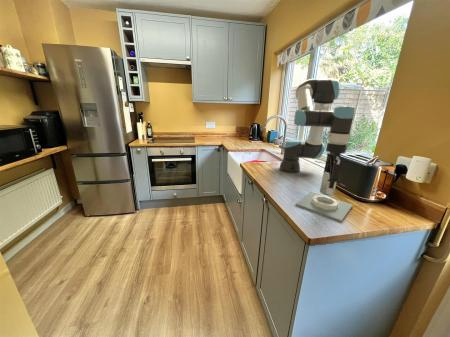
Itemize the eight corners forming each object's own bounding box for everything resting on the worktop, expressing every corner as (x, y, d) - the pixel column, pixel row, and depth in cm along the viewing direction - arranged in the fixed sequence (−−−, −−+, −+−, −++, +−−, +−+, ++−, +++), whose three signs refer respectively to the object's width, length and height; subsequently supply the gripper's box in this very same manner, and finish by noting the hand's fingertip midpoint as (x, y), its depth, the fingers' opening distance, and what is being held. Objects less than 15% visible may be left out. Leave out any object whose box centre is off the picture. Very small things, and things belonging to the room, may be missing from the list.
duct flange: (310, 193, 106) (311, 188, 105) (352, 206, 92) (353, 200, 92) (295, 205, 92) (296, 199, 91) (341, 222, 79) (342, 216, 78)
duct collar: (318, 189, 93) (322, 170, 90) (331, 191, 92) (336, 171, 89) (321, 194, 88) (325, 174, 85) (335, 196, 87) (340, 175, 84)
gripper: (322, 139, 92) (314, 183, 99) (334, 146, 75) (323, 198, 82) (339, 140, 91) (330, 184, 98) (355, 147, 73) (342, 201, 80)
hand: (327, 191), depth 90 cm, fingers closed on duct collar, 6 cm apart
